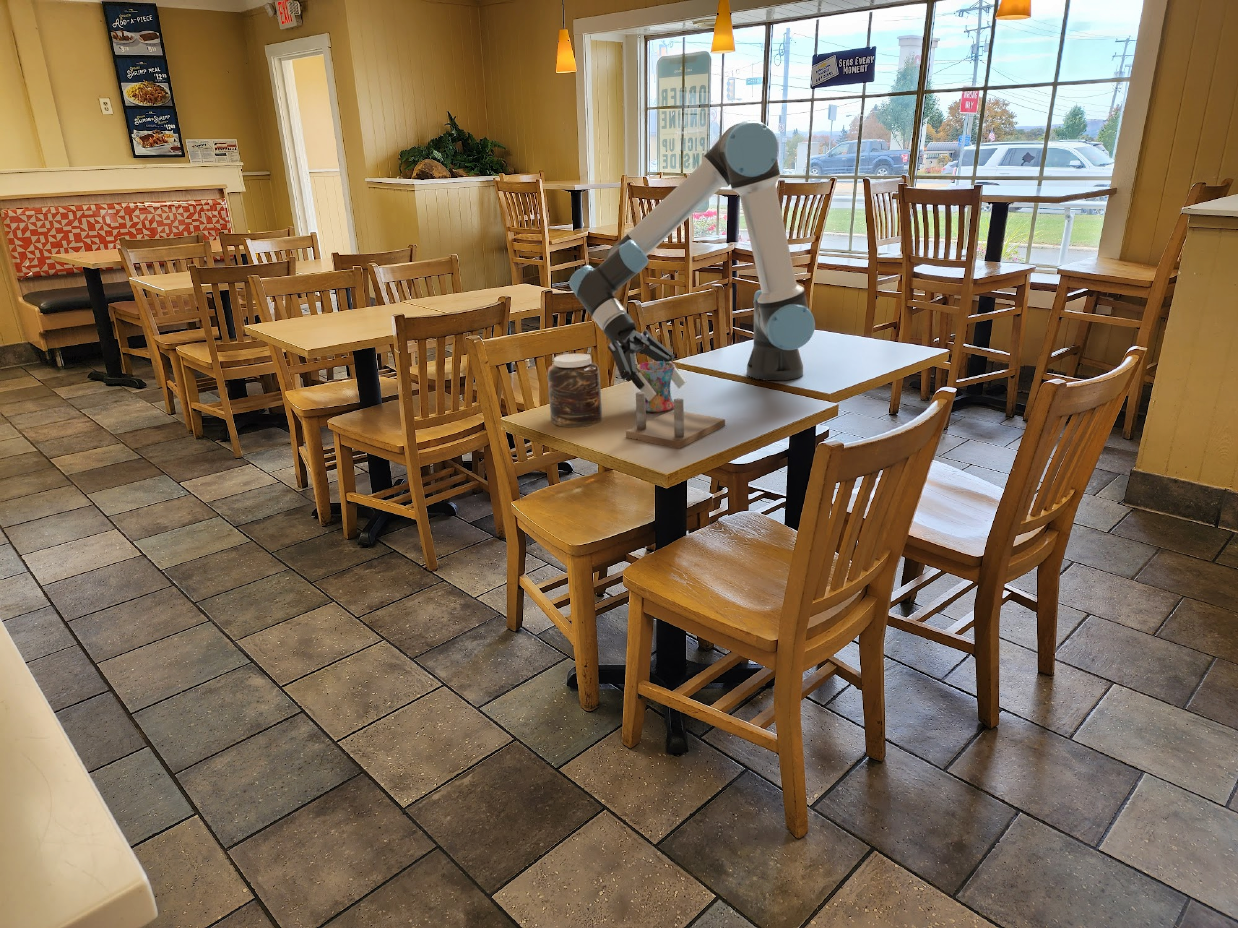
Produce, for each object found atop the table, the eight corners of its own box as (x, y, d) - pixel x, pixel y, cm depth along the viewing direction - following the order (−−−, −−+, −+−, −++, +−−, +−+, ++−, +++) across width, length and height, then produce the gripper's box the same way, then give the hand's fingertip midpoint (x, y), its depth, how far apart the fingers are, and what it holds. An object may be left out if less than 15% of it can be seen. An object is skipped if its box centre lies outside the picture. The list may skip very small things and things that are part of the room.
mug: (665, 416, 189) (664, 372, 186) (630, 412, 194) (628, 368, 190) (687, 402, 199) (686, 360, 195) (653, 398, 204) (652, 357, 200)
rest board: (673, 415, 189) (672, 376, 186) (725, 425, 181) (725, 384, 178) (626, 437, 176) (624, 395, 173) (679, 448, 168) (678, 404, 165)
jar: (583, 409, 198) (579, 349, 192) (611, 419, 189) (608, 357, 184) (542, 420, 191) (537, 357, 186) (569, 431, 182) (564, 366, 177)
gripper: (636, 323, 208) (687, 388, 205) (574, 341, 191) (628, 413, 187) (652, 304, 203) (704, 370, 200) (590, 320, 186) (646, 394, 182)
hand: (667, 391), depth 193 cm, fingers closed on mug, 12 cm apart
